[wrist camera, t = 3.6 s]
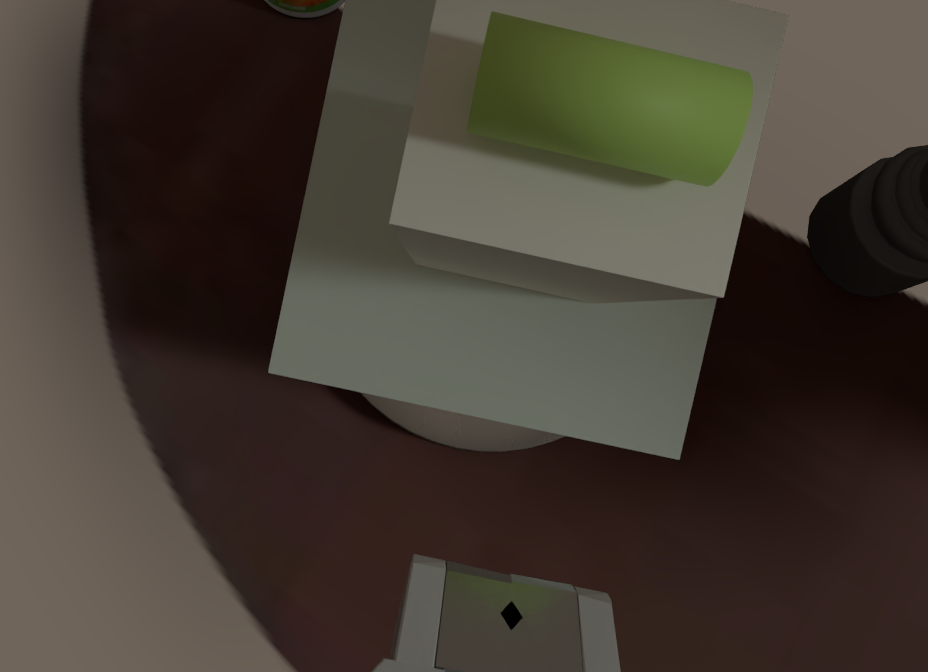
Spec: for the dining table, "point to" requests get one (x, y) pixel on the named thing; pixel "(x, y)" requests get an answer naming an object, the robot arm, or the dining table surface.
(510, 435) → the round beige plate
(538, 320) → the white stepped fixture
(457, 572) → the robot arm
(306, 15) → the supplement bottle
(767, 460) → the dining table surface
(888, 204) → the candle holder
